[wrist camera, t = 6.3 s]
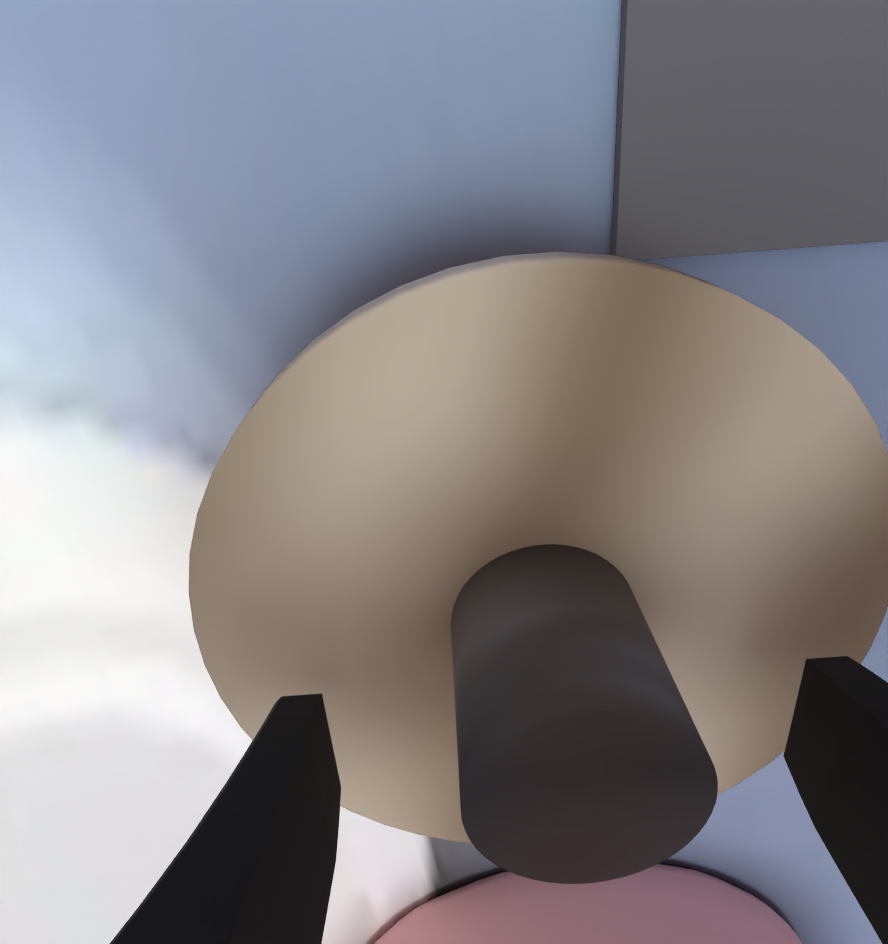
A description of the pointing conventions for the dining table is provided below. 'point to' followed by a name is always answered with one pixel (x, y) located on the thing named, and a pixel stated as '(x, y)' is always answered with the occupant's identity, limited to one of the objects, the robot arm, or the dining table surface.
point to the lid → (545, 553)
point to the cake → (595, 913)
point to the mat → (750, 126)
